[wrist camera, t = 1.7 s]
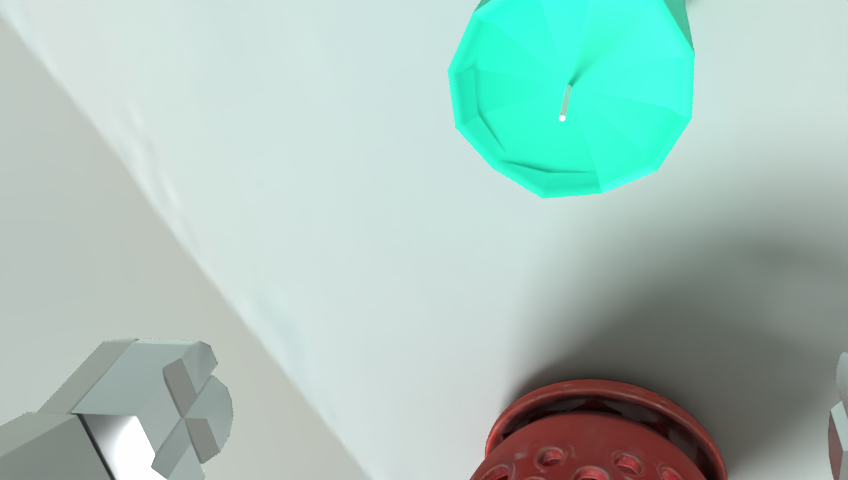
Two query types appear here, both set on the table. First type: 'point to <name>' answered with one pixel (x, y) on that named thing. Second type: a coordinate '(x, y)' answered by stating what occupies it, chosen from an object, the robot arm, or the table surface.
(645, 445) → the plant pot
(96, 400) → the robot arm
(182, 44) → the table surface
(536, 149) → the candle
